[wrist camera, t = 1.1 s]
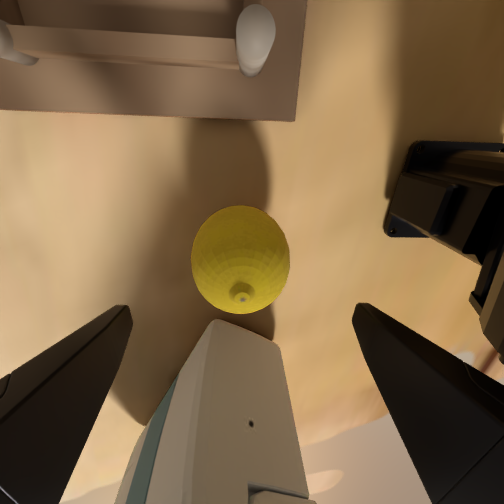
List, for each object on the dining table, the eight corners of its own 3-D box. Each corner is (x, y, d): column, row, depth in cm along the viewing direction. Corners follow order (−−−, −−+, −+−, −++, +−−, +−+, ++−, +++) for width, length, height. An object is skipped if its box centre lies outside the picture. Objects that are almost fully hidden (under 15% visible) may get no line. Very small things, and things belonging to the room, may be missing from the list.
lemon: (214, 269, 19) (201, 355, 12) (190, 202, 16) (154, 259, 9) (283, 253, 18) (312, 332, 11) (269, 182, 16) (297, 225, 9)
